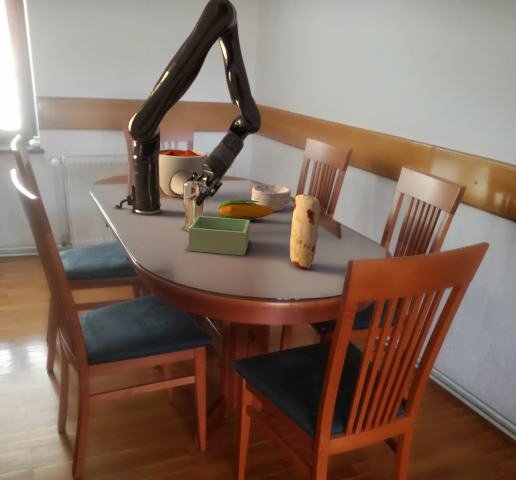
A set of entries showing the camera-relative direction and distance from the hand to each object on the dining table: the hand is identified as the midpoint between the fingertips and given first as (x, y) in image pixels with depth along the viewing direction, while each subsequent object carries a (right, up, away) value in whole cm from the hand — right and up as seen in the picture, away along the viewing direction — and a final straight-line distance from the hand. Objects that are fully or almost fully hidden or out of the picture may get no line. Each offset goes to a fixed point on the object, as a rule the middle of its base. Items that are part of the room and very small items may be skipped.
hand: (189, 201), depth 169 cm
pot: (-10, +15, +47) cm, 51 cm away
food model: (+34, -24, -20) cm, 47 cm away
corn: (+18, -1, +20) cm, 27 cm away
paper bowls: (+27, +7, +37) cm, 47 cm away
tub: (+10, -16, -9) cm, 21 cm away
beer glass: (+1, -8, +5) cm, 10 cm away
